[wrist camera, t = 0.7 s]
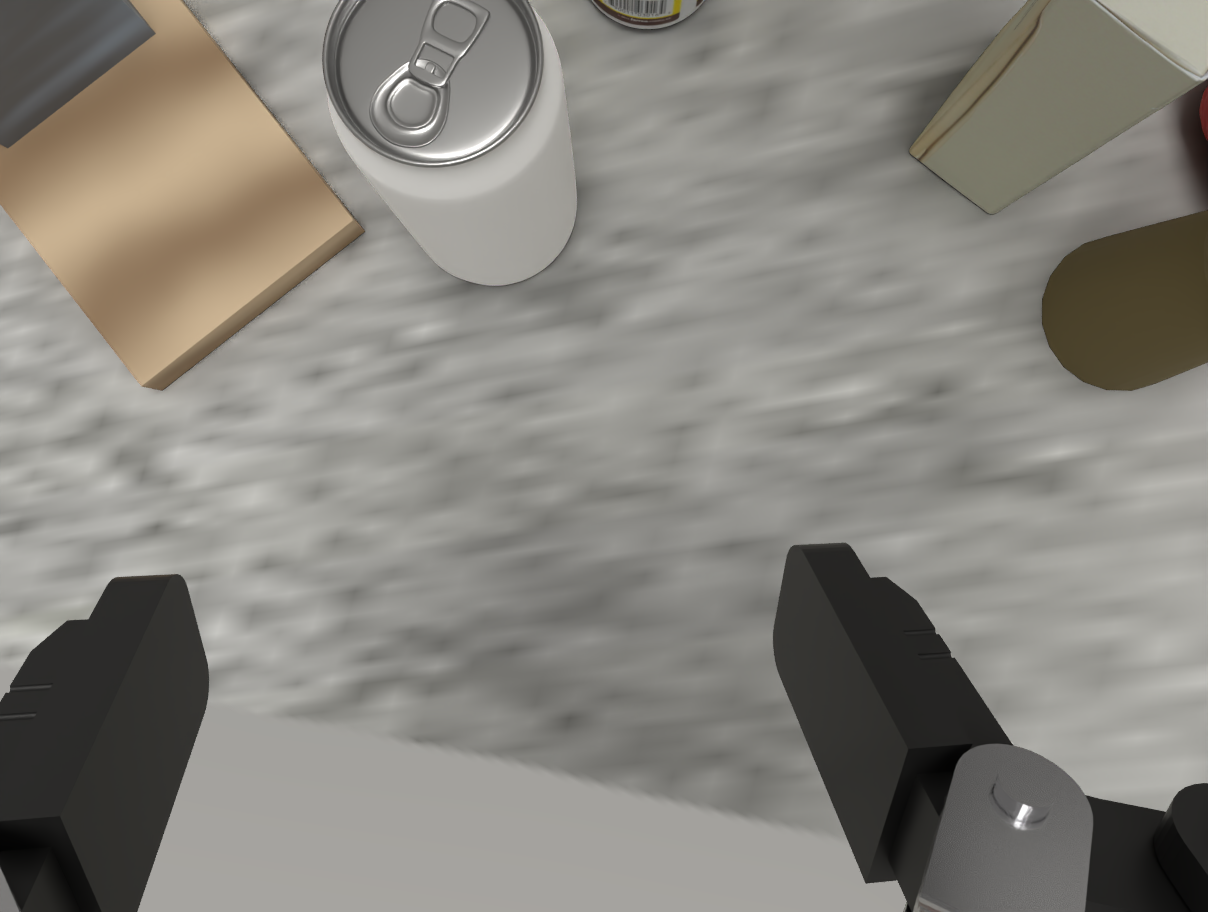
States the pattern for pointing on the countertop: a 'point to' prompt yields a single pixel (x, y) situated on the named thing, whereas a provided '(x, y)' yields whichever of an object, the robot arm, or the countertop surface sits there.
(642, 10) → the supplement bottle
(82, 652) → the robot arm
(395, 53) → the can
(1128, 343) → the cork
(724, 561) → the countertop surface
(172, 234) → the wooden bookend
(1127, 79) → the skincare box
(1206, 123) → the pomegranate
